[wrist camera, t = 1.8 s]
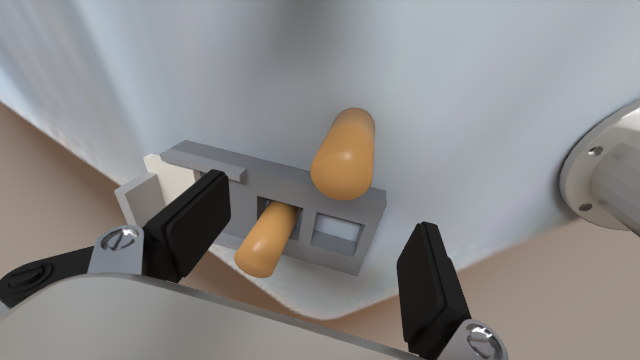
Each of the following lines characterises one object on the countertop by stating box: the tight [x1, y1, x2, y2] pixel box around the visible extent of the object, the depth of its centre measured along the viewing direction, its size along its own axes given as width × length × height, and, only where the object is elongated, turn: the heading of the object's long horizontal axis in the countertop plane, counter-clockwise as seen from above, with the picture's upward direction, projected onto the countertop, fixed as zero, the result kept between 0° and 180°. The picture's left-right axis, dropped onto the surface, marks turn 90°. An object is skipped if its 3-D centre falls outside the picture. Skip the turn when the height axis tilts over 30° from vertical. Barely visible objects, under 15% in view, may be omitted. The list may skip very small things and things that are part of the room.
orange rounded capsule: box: [234, 200, 301, 278], centre depth 26 cm, size 4×4×9 cm
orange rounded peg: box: [311, 108, 375, 200], centre depth 19 cm, size 4×4×9 cm
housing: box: [160, 140, 386, 276], centre depth 28 cm, size 24×12×4 cm, turn 81°
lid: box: [114, 154, 201, 228], centre depth 26 cm, size 6×10×5 cm, turn 171°
